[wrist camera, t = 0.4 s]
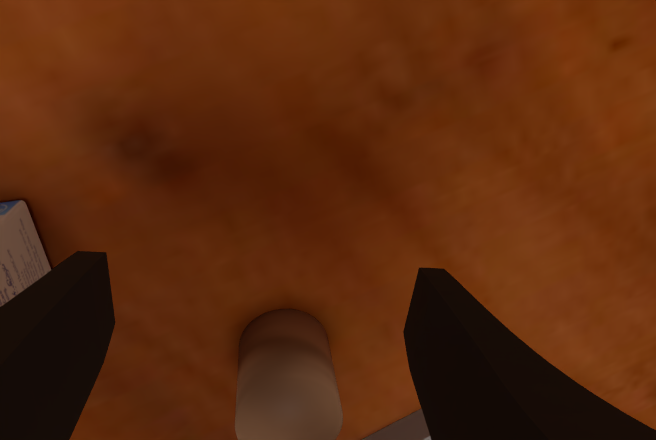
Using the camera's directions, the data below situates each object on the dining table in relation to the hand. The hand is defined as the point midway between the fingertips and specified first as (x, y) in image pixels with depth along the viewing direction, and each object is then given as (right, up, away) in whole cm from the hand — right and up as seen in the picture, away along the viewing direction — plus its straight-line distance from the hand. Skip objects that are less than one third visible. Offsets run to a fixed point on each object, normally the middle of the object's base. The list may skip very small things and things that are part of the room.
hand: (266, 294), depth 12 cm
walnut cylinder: (-1, -5, +13) cm, 14 cm away
